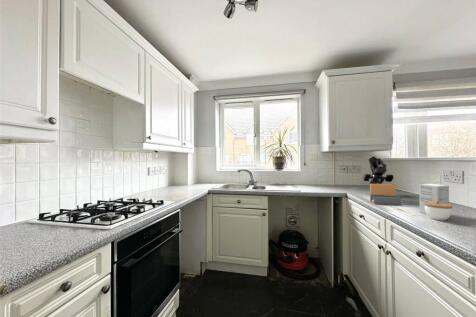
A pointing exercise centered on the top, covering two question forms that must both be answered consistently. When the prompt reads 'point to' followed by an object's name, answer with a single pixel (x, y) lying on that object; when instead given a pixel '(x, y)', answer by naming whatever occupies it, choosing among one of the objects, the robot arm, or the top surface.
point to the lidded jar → (438, 210)
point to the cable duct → (385, 200)
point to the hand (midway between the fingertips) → (380, 186)
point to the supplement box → (433, 194)
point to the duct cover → (383, 189)
